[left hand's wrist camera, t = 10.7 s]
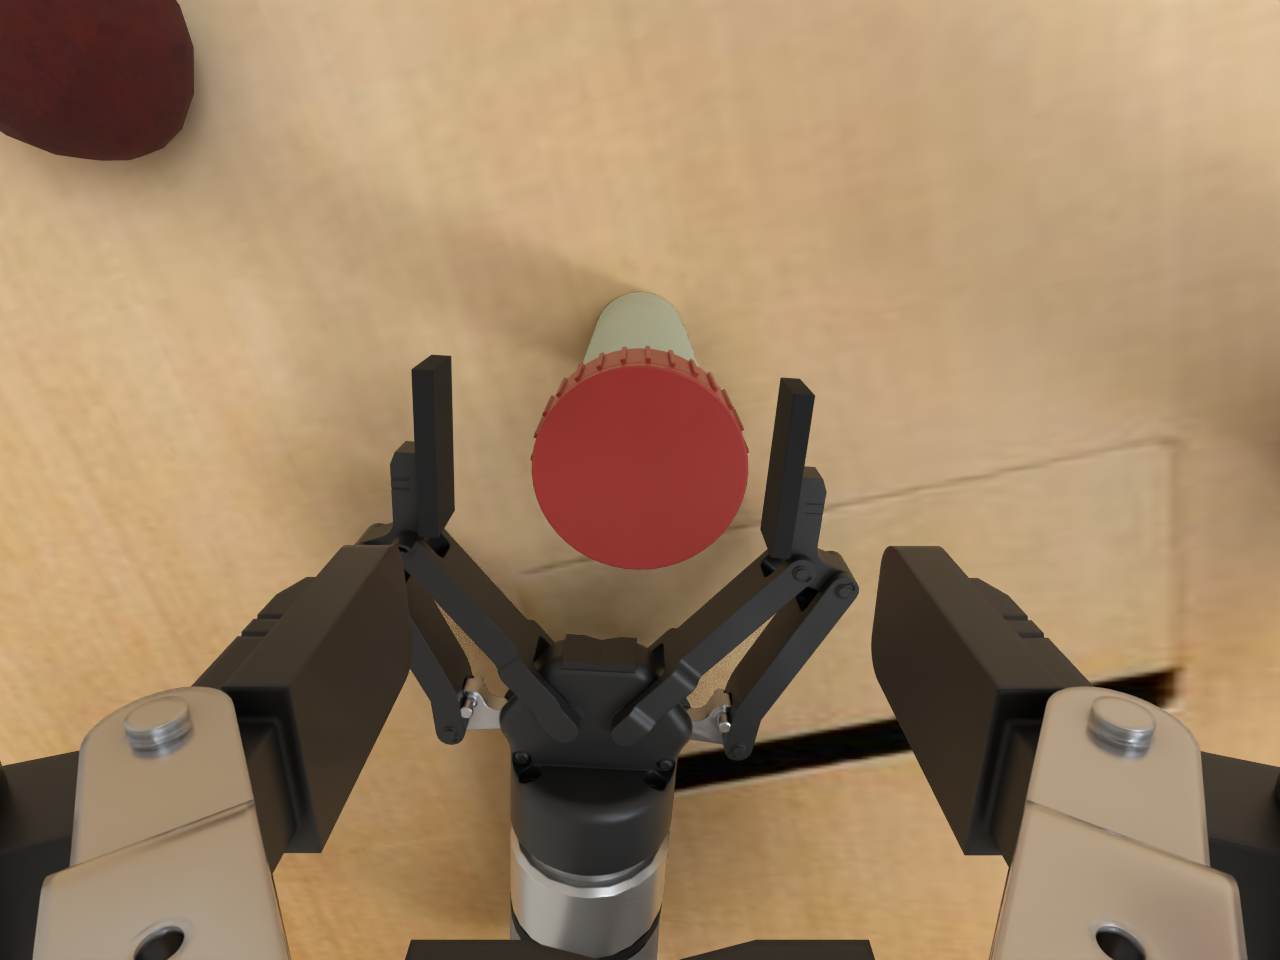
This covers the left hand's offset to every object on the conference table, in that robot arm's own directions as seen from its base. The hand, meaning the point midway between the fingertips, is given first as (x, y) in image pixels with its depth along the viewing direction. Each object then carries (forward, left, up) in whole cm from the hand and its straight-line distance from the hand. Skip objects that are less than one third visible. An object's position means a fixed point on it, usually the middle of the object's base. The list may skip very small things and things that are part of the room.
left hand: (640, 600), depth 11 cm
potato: (+20, +10, -23) cm, 32 cm away
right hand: (0, +1, -17) cm, 17 cm away
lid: (0, 0, -6) cm, 6 cm away
